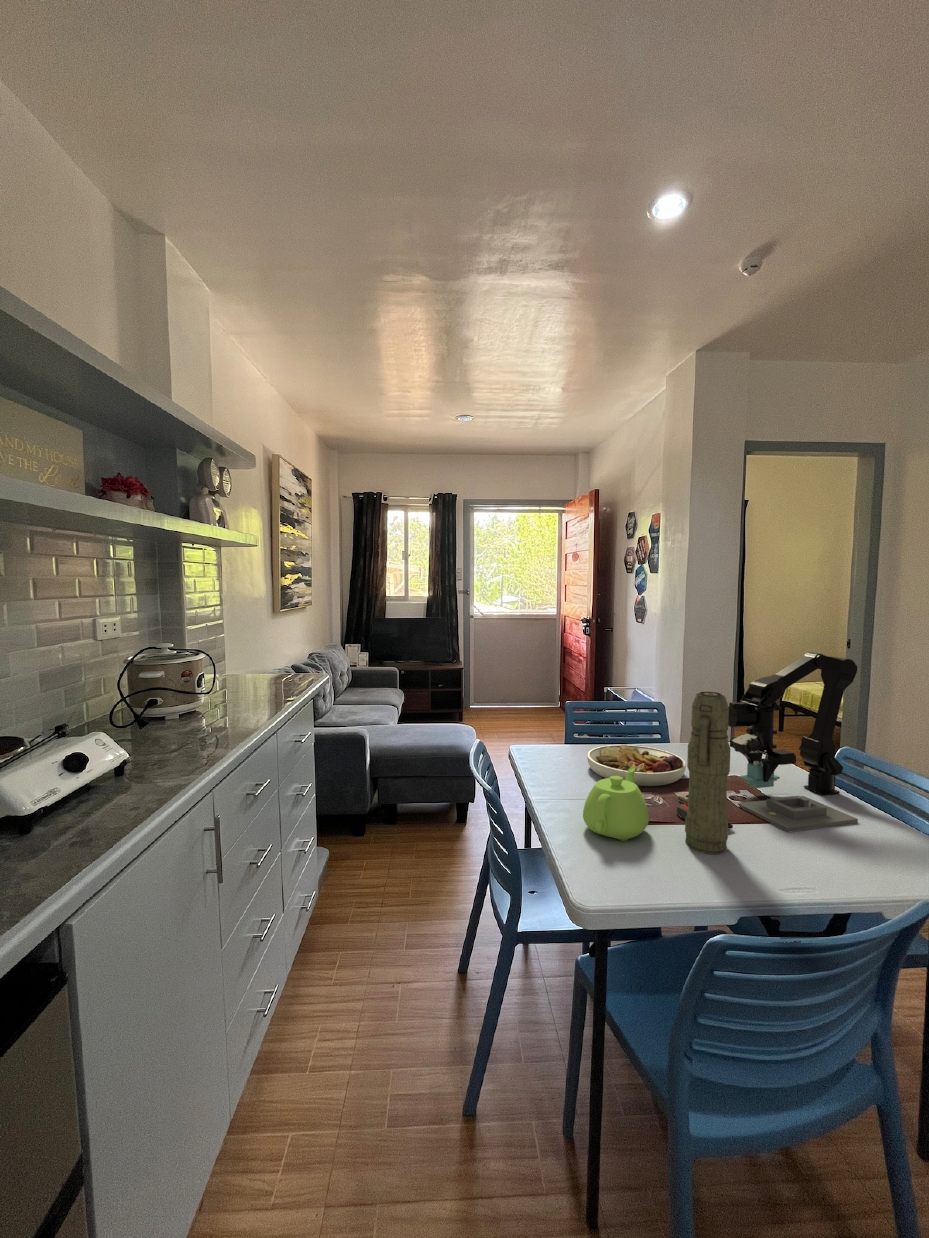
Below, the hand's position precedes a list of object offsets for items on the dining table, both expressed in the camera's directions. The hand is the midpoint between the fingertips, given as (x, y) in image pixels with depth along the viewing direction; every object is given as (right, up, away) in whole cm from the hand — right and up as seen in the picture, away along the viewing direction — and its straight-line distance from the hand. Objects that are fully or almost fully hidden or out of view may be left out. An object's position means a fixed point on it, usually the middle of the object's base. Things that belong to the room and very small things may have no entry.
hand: (760, 779), depth 157 cm
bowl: (-30, -4, +19) cm, 36 cm away
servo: (0, -2, 0) cm, 2 cm away
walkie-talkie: (-25, -6, -15) cm, 30 cm away
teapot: (-47, -6, -23) cm, 53 cm away
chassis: (+2, -5, -14) cm, 15 cm away
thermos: (-30, -6, -32) cm, 44 cm away
